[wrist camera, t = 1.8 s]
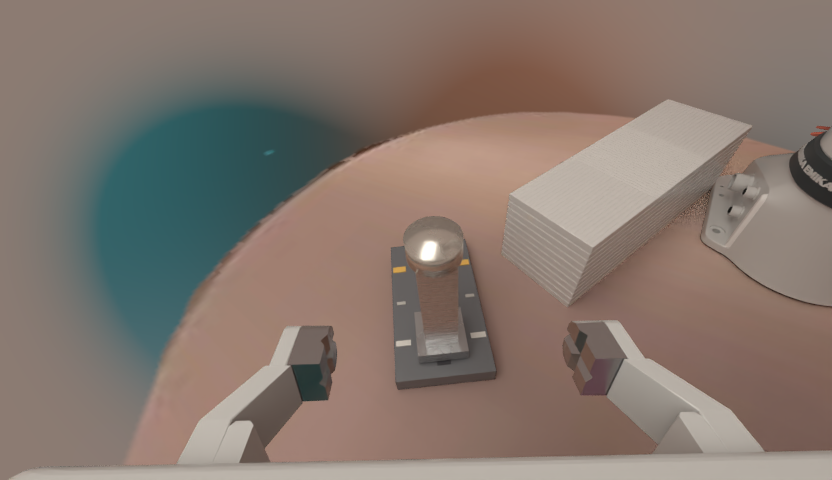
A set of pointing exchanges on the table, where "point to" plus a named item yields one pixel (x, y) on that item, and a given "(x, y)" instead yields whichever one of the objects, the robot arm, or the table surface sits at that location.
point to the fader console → (405, 340)
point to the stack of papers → (616, 196)
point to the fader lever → (437, 287)
